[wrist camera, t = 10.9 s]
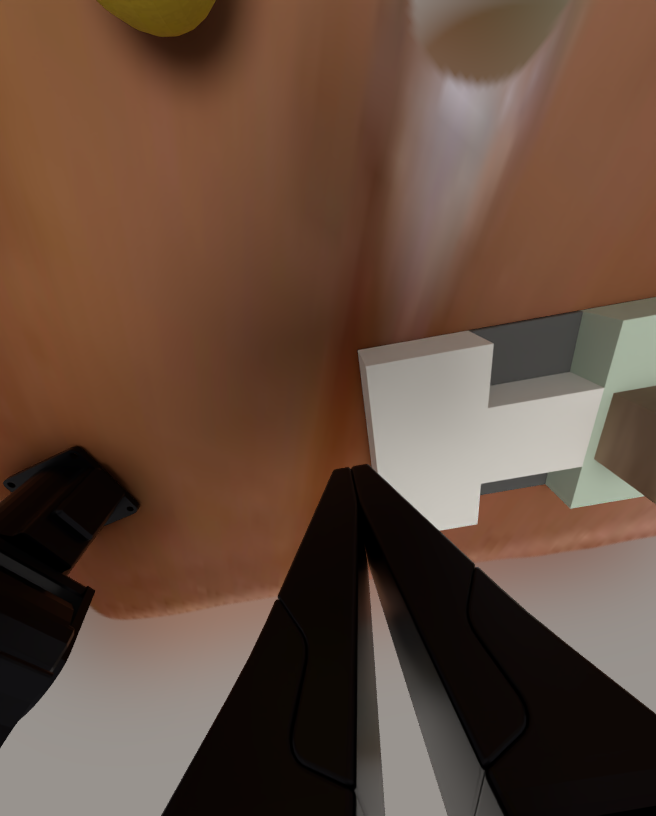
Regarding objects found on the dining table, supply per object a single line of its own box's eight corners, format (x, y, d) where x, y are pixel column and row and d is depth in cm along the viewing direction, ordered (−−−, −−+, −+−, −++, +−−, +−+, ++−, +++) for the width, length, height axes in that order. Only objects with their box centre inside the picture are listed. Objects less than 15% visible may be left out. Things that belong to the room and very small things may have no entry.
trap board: (376, 509, 26) (385, 539, 23) (357, 350, 19) (366, 366, 17) (627, 467, 26) (664, 492, 23) (692, 290, 19) (754, 297, 16)
